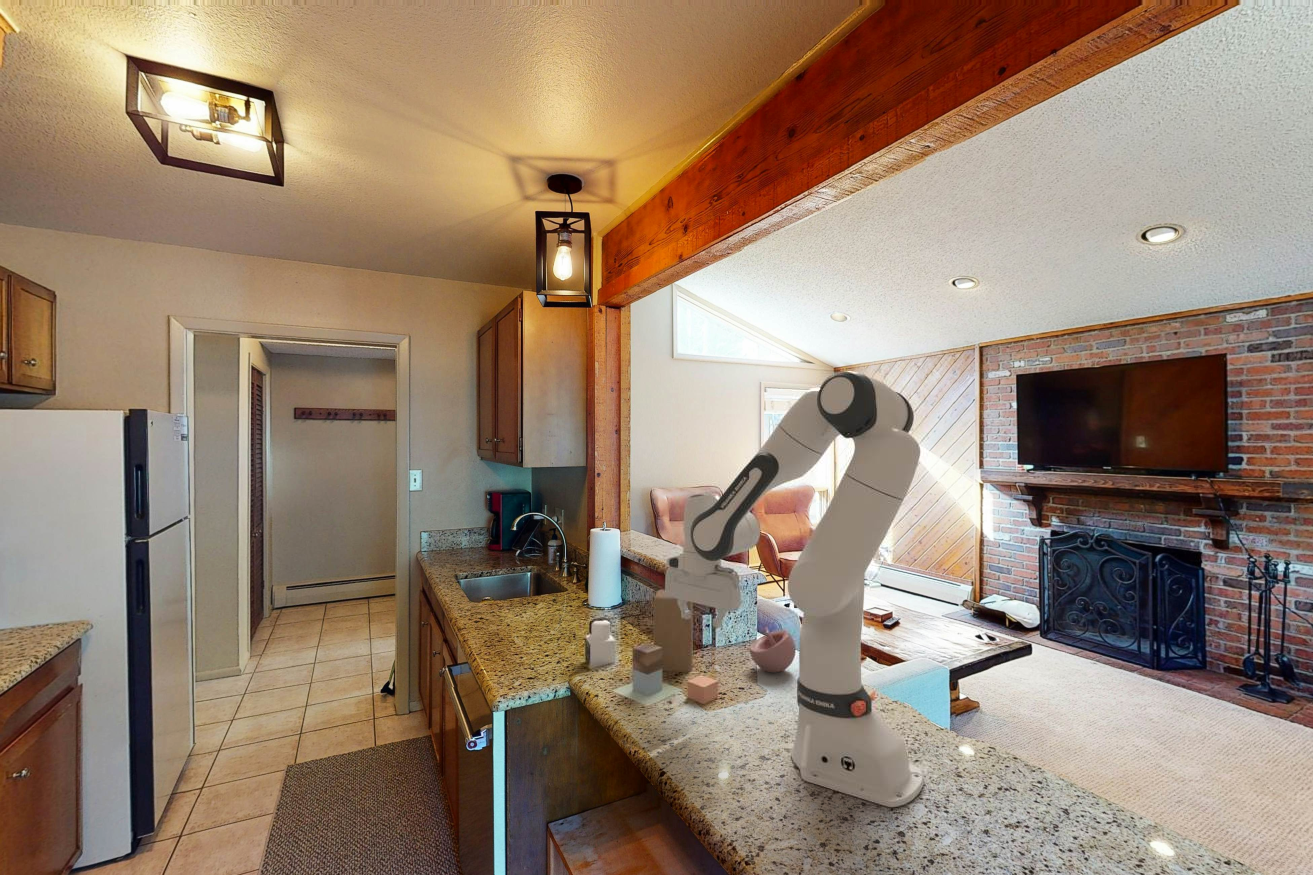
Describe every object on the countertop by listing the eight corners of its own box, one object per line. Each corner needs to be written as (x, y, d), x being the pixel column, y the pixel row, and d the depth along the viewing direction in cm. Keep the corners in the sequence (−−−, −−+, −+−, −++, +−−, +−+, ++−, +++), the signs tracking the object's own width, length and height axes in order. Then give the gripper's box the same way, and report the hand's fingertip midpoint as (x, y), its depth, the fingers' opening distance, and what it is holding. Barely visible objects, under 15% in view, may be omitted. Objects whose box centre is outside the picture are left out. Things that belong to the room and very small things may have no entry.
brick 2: (662, 689, 132) (662, 668, 132) (647, 696, 128) (647, 674, 129) (647, 684, 135) (647, 663, 136) (632, 690, 132) (632, 668, 132)
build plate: (683, 694, 132) (683, 689, 132) (647, 711, 123) (647, 705, 123) (647, 681, 140) (647, 676, 140) (611, 695, 132) (611, 690, 132)
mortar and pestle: (747, 662, 154) (746, 620, 154) (790, 662, 153) (790, 620, 154) (752, 679, 142) (752, 633, 142) (800, 679, 141) (799, 634, 142)
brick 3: (718, 702, 128) (717, 680, 128) (704, 709, 124) (704, 687, 125) (701, 696, 131) (701, 675, 132) (687, 703, 128) (687, 681, 128)
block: (692, 662, 153) (692, 589, 154) (691, 676, 143) (691, 598, 144) (656, 661, 154) (656, 588, 155) (653, 675, 144) (653, 597, 145)
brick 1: (662, 668, 132) (662, 647, 132) (647, 674, 128) (647, 652, 129) (647, 663, 136) (647, 642, 136) (632, 669, 132) (632, 647, 132)
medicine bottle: (584, 660, 155) (585, 617, 155) (609, 658, 157) (609, 615, 158) (589, 670, 148) (589, 624, 149) (615, 667, 150) (615, 622, 151)
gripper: (746, 567, 124) (746, 629, 124) (678, 555, 139) (678, 611, 138) (730, 571, 120) (729, 635, 119) (661, 558, 134) (660, 616, 134)
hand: (701, 622), depth 129 cm, fingers open, 8 cm apart
